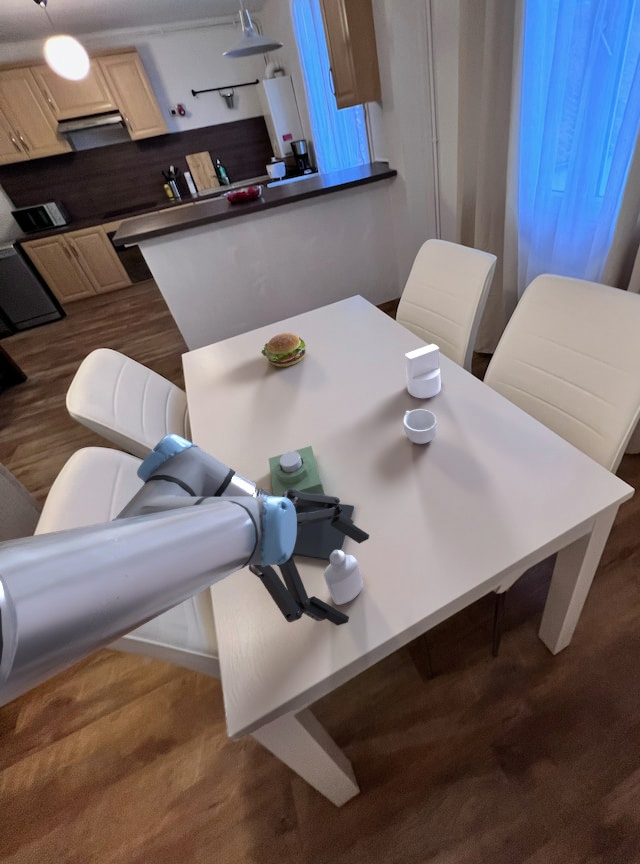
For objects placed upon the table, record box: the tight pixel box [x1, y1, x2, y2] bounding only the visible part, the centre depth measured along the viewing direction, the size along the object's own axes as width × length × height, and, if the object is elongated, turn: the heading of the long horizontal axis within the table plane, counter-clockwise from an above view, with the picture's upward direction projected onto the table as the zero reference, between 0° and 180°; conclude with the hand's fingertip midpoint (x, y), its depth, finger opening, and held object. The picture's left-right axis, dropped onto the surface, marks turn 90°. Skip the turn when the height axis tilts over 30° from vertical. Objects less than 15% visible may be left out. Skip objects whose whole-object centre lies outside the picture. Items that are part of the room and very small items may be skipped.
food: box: [261, 332, 307, 368], centre depth 132 cm, size 14×14×8 cm
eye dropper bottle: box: [323, 549, 364, 606], centre depth 65 cm, size 4×6×12 cm
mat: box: [293, 503, 355, 562], centre depth 79 cm, size 12×12×1 cm
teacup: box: [402, 408, 438, 445], centre depth 95 cm, size 10×8×5 cm
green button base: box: [268, 445, 326, 507], centre depth 88 cm, size 12×10×6 cm
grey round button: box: [280, 450, 302, 473], centre depth 86 cm, size 4×4×2 cm
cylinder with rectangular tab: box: [404, 343, 442, 399], centre depth 107 cm, size 9×9×12 cm
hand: (354, 577), depth 65 cm, fingers open, 13 cm apart
